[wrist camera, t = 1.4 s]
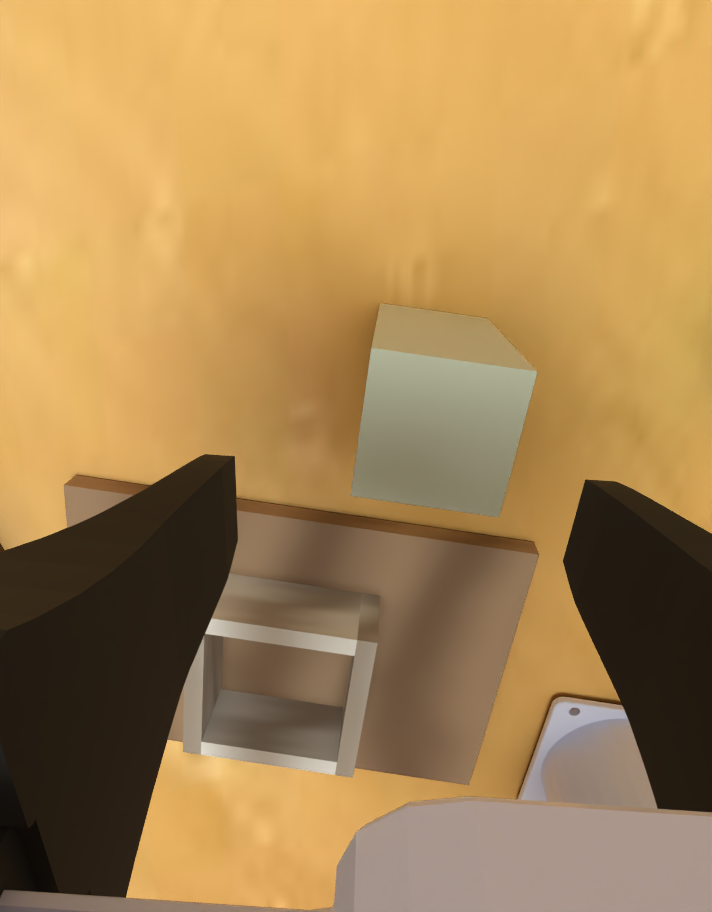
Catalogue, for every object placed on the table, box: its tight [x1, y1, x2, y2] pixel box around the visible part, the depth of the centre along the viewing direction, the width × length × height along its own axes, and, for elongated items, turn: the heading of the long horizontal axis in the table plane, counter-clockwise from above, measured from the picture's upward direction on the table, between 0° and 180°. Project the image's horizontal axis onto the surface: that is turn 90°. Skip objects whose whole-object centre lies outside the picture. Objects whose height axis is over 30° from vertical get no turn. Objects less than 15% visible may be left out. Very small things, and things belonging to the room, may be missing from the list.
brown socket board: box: [64, 475, 539, 785], centre depth 25 cm, size 20×14×4 cm
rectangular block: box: [351, 303, 537, 517], centre depth 18 cm, size 4×4×8 cm
